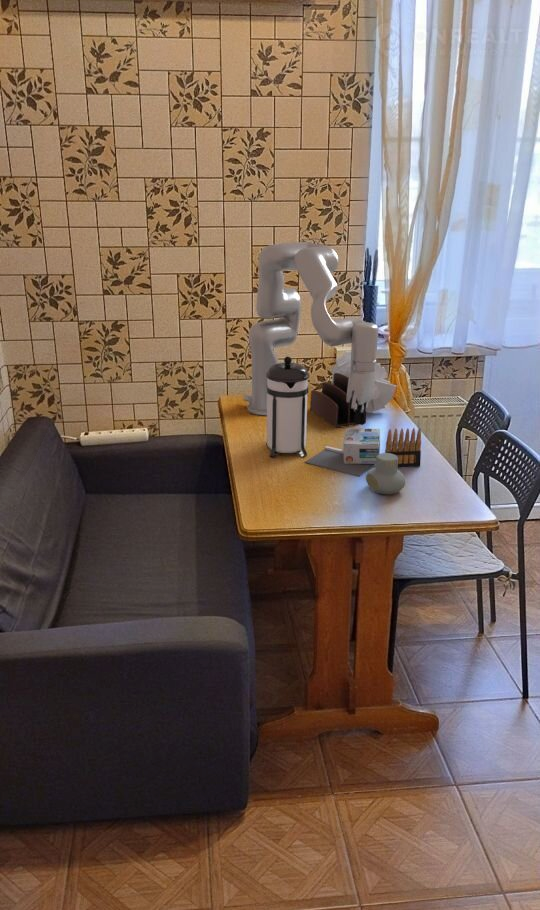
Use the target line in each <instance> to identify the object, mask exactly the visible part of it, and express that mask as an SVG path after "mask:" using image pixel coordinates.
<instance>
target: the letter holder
mask: <svg viewBox="0 0 540 910" xmlns="http://www.w3.org/2000/svg"><path fill="white" fill-rule="evenodd" d="M332 376H333V375H332ZM348 380H349V378H348V377H346V376H344V375H342V374H339V373H334V376H333V384H332V382H331V383H330V382H327V381H323V382H322V384H321V391H319V390H315V389H312V390H310V391H311V392H310V401H309V402H310V403H309V404H310V405H309V410H310V411H311V412H312V411H313V413H314V414H315V413H316V414H315V415H317V416H318V417H320V418H321V419H322V418H323V419H322V420H323V421H326V423H328V424H330V425H331V426H333V427H334V426H335V427H334V428H336V427H340V428H342V427H341V426H346V427H350V426H349V425H353V426H357V425H356V424H355V423H354V415H355V411H354V409H351V405H352V402H350V403H347V388H348Z"/></svg>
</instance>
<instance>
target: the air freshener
mask: <svg viewBox="0 0 540 910" xmlns="http://www.w3.org/2000/svg"><path fill="white" fill-rule="evenodd" d="M365 480H366V481H365V482H366V483H367V486H368V487H369V489H370V490H371V491H373V492H375V493H377V494H380V495H393V494H396V493H398V492H400V491H402V490H403V488H405V486H406V478H405V475H404V474H403V473H402V471H400V470H399V468H398V457H397V456H396V455H394V454H391V453H385V452H380V454H379V455H377V456H376V464H375V467H374V468H372V469H371V470H369V471H368V472H367V474H366V476H365Z"/></svg>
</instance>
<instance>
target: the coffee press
mask: <svg viewBox="0 0 540 910" xmlns="http://www.w3.org/2000/svg"><path fill="white" fill-rule="evenodd" d="M292 361H293V359H292V358H291V357H290V356H285V357H284V359H283V362H279V363H277V364H274V365H272V366H271V367H270V368H269V369H268V371H267V372H266V377H267V386H266V392H267V415H266V443H265V444H266V447H268V448H269V449H270V453H269V458H271V459H275V458H276V457H277V455H278V454H279V453H280V454H281V453H283V454H293V453H297V454H299V455H300V457H301V458H305V457H307V455H308V453H307V451H306V449H305V447H306V442H307V421H308V420H307V419H308V417H307V416H308V393H309V383H308V382H309V377H310V373H309V372H308V370H307V368H306V367H305V366H304V365H302V364H300V363H297V362H292Z"/></svg>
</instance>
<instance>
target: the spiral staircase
mask: <svg viewBox="0 0 540 910" xmlns="http://www.w3.org/2000/svg"><path fill="white" fill-rule="evenodd" d="M335 361H336V363H335V364H334V366H333V367H332V368H331V370H330V372H331V373H332V376H331V384H333V376H334V373H339V374H342V375H344V376H346V377H348V378H349V375H350V371H351V370H350V365H351V351H344V355H341V356H339V357H338V358H336V359H335ZM388 377H389V375H388V373H387V370H386V368H385V366H382V365H381V362H379V363H377V362H376V371H375V391H374V397H373V398H372V399H371V400H370V401H369V402H368V408H367V413H371V414H373V413H374V412H375V411H380V410H382V409H385V408H386V406H387V405H388V404H389V403H391V401H392V400H393V399H394V395H395V391H396V389H397V387H398V386H397V385H395V384H392V383H391V381H389V380H386V378H388Z"/></svg>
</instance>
